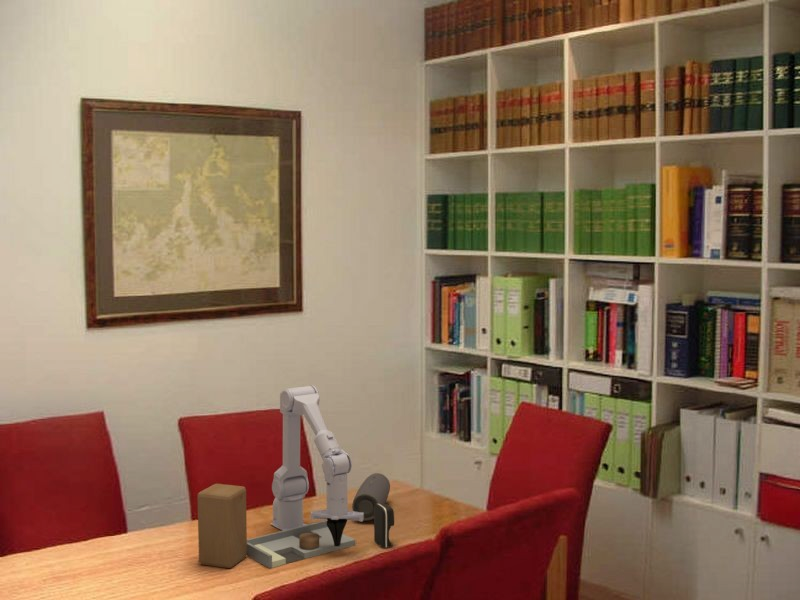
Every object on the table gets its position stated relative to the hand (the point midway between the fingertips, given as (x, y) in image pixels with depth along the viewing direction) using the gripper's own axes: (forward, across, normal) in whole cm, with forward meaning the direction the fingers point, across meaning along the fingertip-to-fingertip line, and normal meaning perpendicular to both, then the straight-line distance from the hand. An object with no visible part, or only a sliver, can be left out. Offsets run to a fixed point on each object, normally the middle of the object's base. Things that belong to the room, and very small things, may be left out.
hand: (337, 545), depth 274 cm
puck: (+1, -8, 0) cm, 8 cm away
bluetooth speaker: (+2, +4, +36) cm, 36 cm away
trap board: (+2, -11, +1) cm, 11 cm away
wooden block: (+2, -30, -10) cm, 31 cm away
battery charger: (+2, +12, +8) cm, 15 cm away
